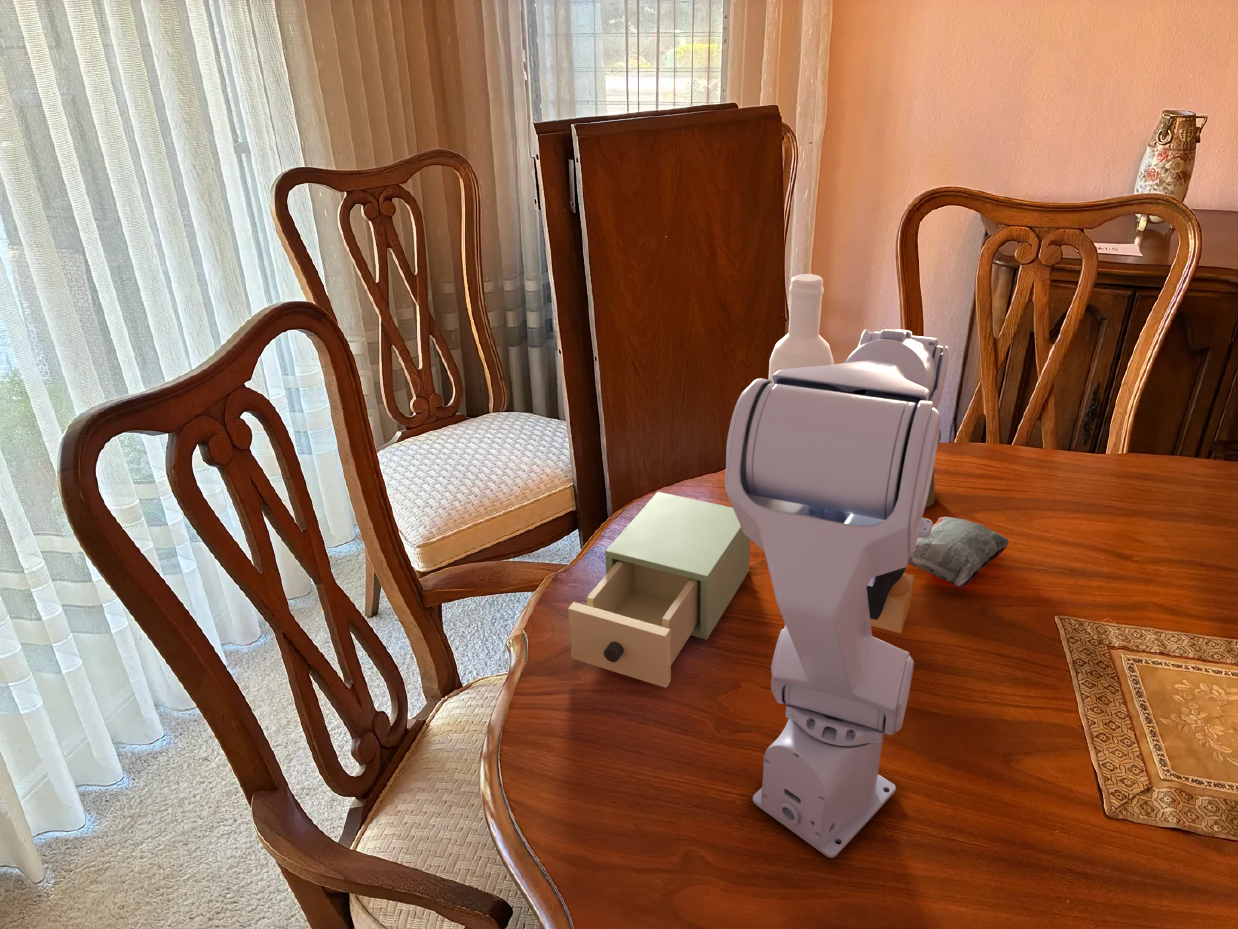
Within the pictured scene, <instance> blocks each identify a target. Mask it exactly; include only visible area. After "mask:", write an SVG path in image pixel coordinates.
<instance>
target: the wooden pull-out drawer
mask: <svg viewBox="0 0 1238 929" xmlns="http://www.w3.org/2000/svg"><path fill="white" fill-rule="evenodd" d="M700 594H701V581H699V580H695V579H691V578H687V577H683V576H679V575H676V574H672V573H668V572H664V571H660V570H656V569H652V568H648V567H644V566H640V565H636V564H632V563H628V562H624V561H620V560H618V561H617V562H616V564H615V565H614V566H613V567H612V568H611V570H610V571H609V572H608V573H607V574H606V573H605V575H604V576H603V577H602V578H601V580H600V581H599V583H597V584H596V585H595V587H594V588H593V589H592V591H591V592H590V593H588V595H587V596H586V604H583V603H579V602H576V601H572V603H571V604H570V605H569V607H567V616H568V628H569V630H568V631H569V640H570V642H569V643H570V654H571V659H572V660H575V661H579V662H582V663H585V664H588V665H592V666H594V667H597V668H601V669H604V670H607V671H611V672H613V673H617V674H620V675H623V676H625V677H626V676H627V677H629V678H633V679H636V680H639V681H642V682H646V683H649V684H652V685H654V686H658V687H662V688H664V689H665V688H666V689H667V687H668V686H669V684H670V683H671V682H672V664H673V663H674V662H675V660H676V658H677V657H678V655H679V654H680V653H681V650H682V649H683V648H684V646H685V644H686V642H687V641H688V640H689V639H690V636H692V635H691V633H692V632H693V630H694V629H695V627H696V626H697V624H698V622H699V621H700Z"/></svg>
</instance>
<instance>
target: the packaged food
mask: <svg viewBox="0 0 1238 929" xmlns="http://www.w3.org/2000/svg"><path fill="white" fill-rule="evenodd" d="M1009 542H1010V541H1009V539H1008V538H1007V537H1006V536H1004V535H1003V534H1000V533H999V532H996V531H994V530H992V529H990V528H988V527H986V526H984V525H983V524H981V523H977V522H974V521H971V520H967V519H964V518H958V517H952V516H941V517H938V519H937V521H936V522H935V523H934V524H932V530H931V533H930V536H929V537H928V538H919V537H918V539H917V544H916V548H915V551H914V552H913V553H912V554H909V559H908V564H907V565H910V566H912V567H914V568H917V569H919V570H921V571H924V572H926V573H929V574H931V575H933V576H935V577H938V578H940V579H943V580H945V581H946V582H948V583H950V584H952V585H954V586H956V587H957V588H964V587H965V586H967V585H968V584H969V583H970V582H971V581H973V579H974V578H975V577H976V576H977V575H978V574H979V572H980V571H981V570H983V569H984V568H985V567H987V566H988V565H989V564H990V563H991V562H994V560H995V559H997V558H998V557H999V556H1000V555H1001V554H1002V553H1003V552H1004V551H1005V550H1006V548H1007V547H1008V545H1009V544H1010V543H1009Z"/></svg>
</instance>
